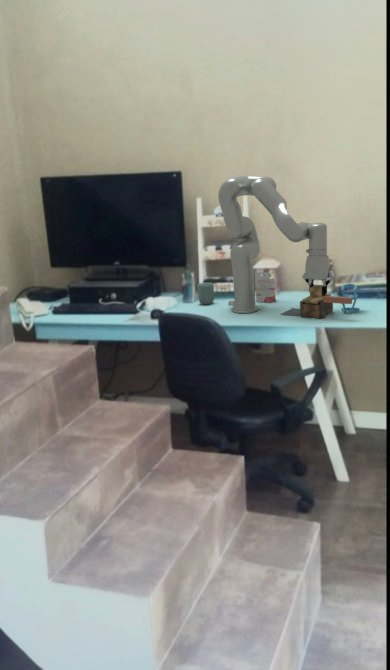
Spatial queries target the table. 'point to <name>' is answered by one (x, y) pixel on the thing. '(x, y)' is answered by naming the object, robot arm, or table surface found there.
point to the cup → (205, 293)
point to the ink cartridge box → (264, 287)
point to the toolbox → (315, 310)
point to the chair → (354, 296)
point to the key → (337, 300)
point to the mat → (292, 312)
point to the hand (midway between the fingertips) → (318, 294)
